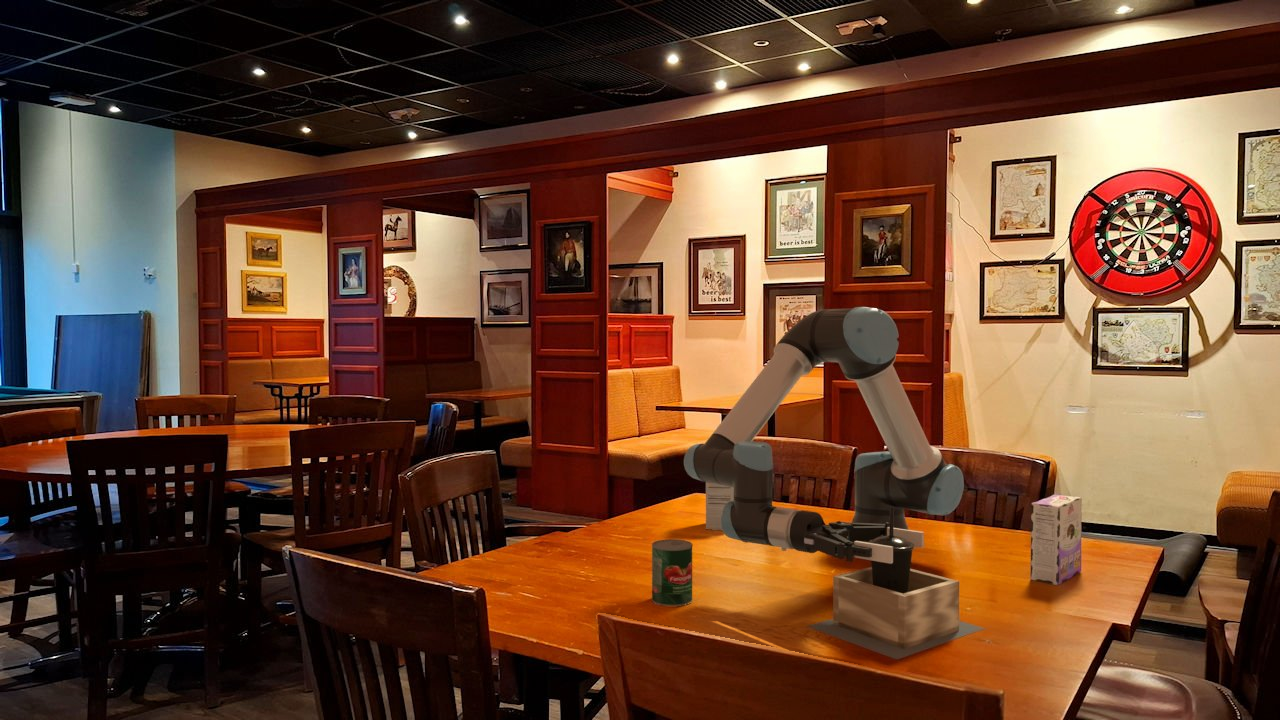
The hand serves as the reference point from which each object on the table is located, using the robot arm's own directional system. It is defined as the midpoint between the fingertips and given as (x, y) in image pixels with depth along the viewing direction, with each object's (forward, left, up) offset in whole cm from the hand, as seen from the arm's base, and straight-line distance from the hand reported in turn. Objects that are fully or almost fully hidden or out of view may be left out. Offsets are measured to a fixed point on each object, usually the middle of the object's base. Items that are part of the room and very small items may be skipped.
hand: (908, 547), depth 145 cm
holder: (+1, -2, -14) cm, 14 cm away
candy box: (-54, -3, -15) cm, 57 cm away
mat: (+1, -2, -15) cm, 15 cm away
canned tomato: (+22, -38, -15) cm, 46 cm away
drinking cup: (+1, -3, -14) cm, 14 cm away
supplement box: (-29, -81, -15) cm, 88 cm away
